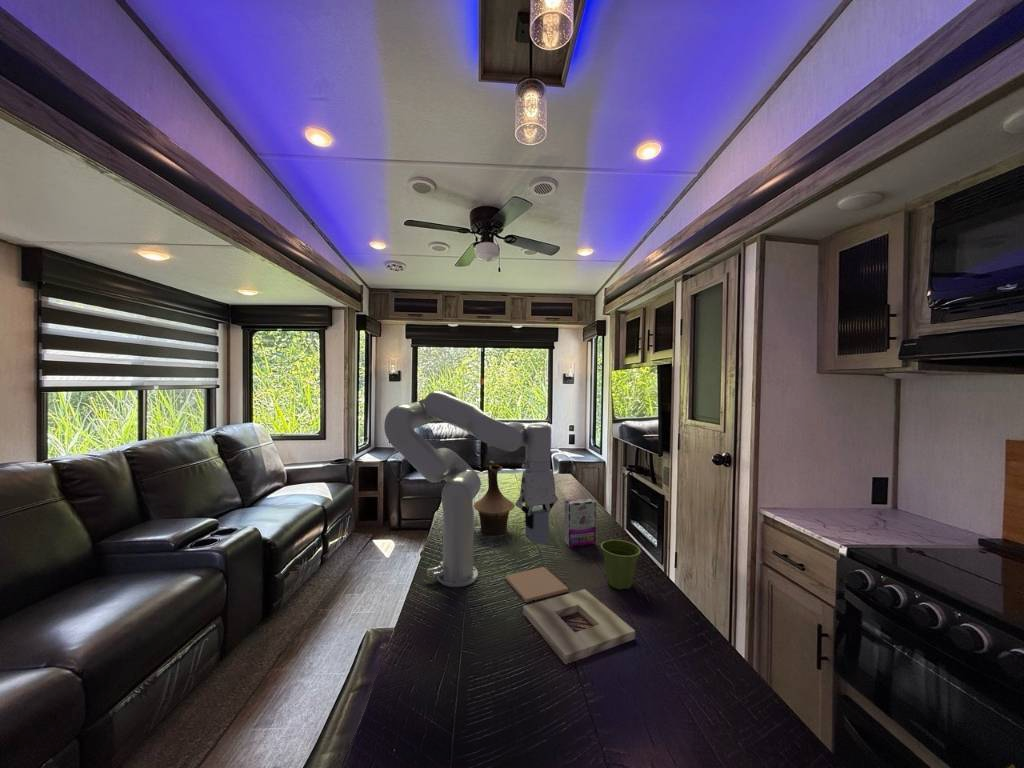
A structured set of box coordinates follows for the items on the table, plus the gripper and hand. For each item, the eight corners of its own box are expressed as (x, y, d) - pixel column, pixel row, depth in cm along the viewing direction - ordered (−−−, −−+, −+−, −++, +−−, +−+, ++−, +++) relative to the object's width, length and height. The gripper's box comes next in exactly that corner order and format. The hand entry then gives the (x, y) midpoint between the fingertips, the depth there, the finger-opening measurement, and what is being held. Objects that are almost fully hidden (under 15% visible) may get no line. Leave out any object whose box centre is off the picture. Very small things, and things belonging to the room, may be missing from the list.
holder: (565, 664, 83) (565, 655, 83) (523, 613, 101) (523, 606, 101) (634, 638, 92) (635, 630, 92) (584, 596, 110) (584, 589, 110)
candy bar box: (589, 539, 150) (590, 497, 149) (595, 544, 145) (596, 501, 145) (563, 542, 147) (564, 499, 146) (568, 547, 142) (569, 503, 142)
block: (535, 544, 112) (535, 514, 112) (525, 537, 117) (525, 507, 117) (548, 542, 114) (548, 512, 114) (538, 534, 119) (538, 506, 119)
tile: (526, 602, 106) (526, 599, 106) (504, 578, 119) (504, 575, 119) (568, 591, 112) (568, 588, 112) (543, 569, 125) (543, 566, 125)
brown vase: (468, 524, 162) (469, 459, 162) (505, 520, 168) (506, 457, 168) (479, 541, 146) (480, 468, 146) (520, 535, 152) (521, 465, 152)
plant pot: (642, 597, 110) (643, 558, 110) (600, 591, 112) (601, 553, 112) (637, 576, 122) (638, 541, 121) (599, 572, 124) (600, 537, 124)
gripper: (518, 471, 108) (517, 535, 108) (568, 465, 115) (567, 525, 116) (507, 465, 115) (506, 525, 115) (554, 461, 122) (554, 517, 122)
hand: (536, 525), depth 115 cm, fingers closed on block, 4 cm apart
